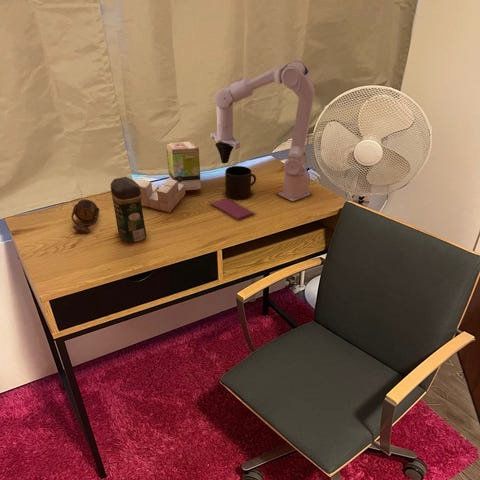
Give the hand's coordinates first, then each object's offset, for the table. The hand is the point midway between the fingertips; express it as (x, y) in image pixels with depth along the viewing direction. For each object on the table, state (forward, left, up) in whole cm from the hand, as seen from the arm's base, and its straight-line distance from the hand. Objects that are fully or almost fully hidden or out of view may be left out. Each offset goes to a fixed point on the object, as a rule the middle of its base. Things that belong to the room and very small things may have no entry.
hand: (225, 162), depth 177 cm
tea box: (+14, -7, -8) cm, 17 cm away
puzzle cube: (+27, -2, -8) cm, 28 cm away
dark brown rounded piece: (+56, -4, -9) cm, 57 cm away
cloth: (+11, +18, -9) cm, 23 cm away
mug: (0, +10, -9) cm, 13 cm away
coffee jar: (+48, +13, -9) cm, 50 cm away
